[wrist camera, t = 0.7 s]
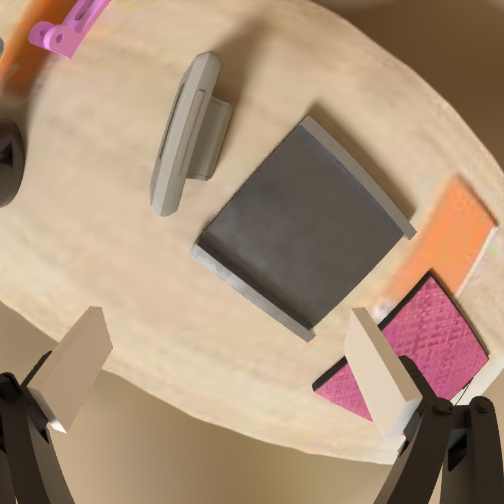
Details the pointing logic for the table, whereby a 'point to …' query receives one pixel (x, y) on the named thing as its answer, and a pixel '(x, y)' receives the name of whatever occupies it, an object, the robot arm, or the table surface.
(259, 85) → the table surface
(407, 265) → the table surface
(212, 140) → the digital clock
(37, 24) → the bracket
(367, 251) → the rail plate
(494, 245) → the table surface
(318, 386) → the laptop bag
